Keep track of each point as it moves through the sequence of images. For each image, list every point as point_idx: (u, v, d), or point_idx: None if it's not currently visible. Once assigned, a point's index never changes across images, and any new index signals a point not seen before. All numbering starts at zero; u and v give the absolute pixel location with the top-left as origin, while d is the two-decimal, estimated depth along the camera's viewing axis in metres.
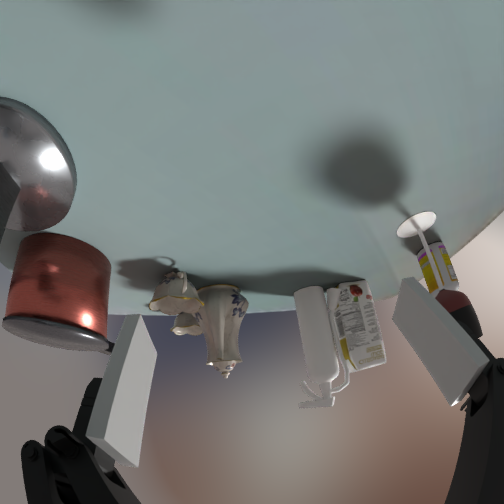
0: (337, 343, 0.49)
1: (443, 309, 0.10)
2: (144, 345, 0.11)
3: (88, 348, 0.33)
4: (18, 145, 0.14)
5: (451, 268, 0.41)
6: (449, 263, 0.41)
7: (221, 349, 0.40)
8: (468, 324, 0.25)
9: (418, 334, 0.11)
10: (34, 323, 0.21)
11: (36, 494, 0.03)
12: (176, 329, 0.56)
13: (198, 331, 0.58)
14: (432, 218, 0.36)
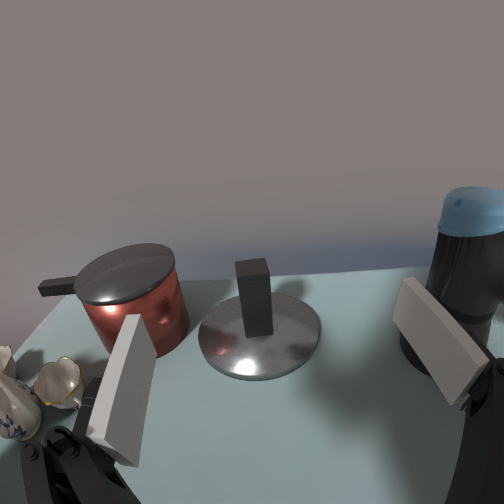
0: None
1: (443, 309, 0.10)
2: (144, 345, 0.11)
3: (85, 280, 0.34)
4: (282, 350, 0.35)
5: None
6: None
7: None
8: None
9: (418, 334, 0.11)
10: (164, 274, 0.35)
11: (36, 494, 0.03)
12: (3, 350, 0.29)
13: None
14: None
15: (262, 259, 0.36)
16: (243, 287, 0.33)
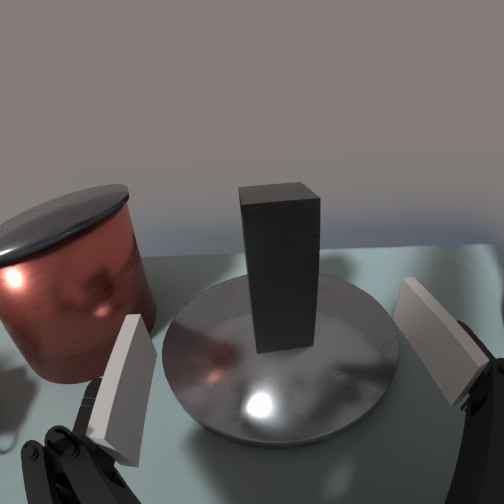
0: None
1: (442, 309, 0.10)
2: (144, 345, 0.11)
3: None
4: (336, 379, 0.15)
5: None
6: None
7: None
8: None
9: (418, 334, 0.11)
10: (94, 212, 0.15)
11: (36, 494, 0.03)
12: None
13: None
14: None
15: (296, 183, 0.17)
16: (257, 232, 0.14)
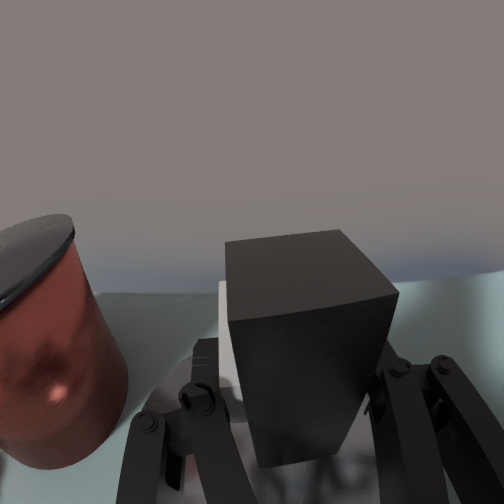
0: None
1: None
2: None
3: None
4: (366, 501, 0.07)
5: None
6: None
7: None
8: None
9: None
10: (7, 286, 0.08)
11: (137, 471, 0.05)
12: None
13: None
14: None
15: (333, 233, 0.09)
16: (264, 364, 0.06)
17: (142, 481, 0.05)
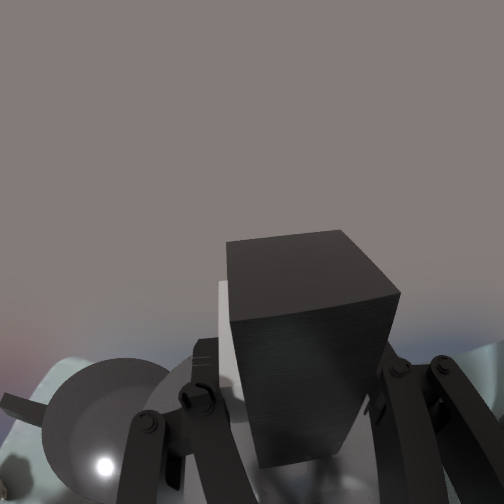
0: None
1: None
2: None
3: (56, 434, 0.15)
4: (367, 501, 0.07)
5: None
6: None
7: None
8: None
9: None
10: None
11: (138, 471, 0.05)
12: None
13: None
14: None
15: (334, 233, 0.09)
16: (266, 364, 0.06)
17: (142, 481, 0.05)
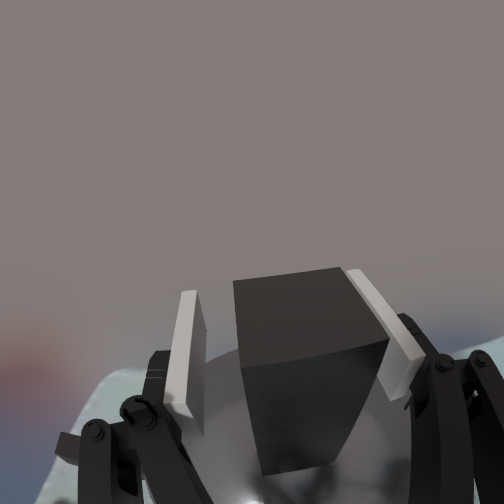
0: None
1: (383, 300, 0.11)
2: (200, 319, 0.13)
3: None
4: None
5: None
6: None
7: None
8: None
9: None
10: None
11: (91, 477, 0.04)
12: None
13: None
14: None
15: (334, 271, 0.10)
16: (270, 397, 0.07)
17: (97, 487, 0.04)
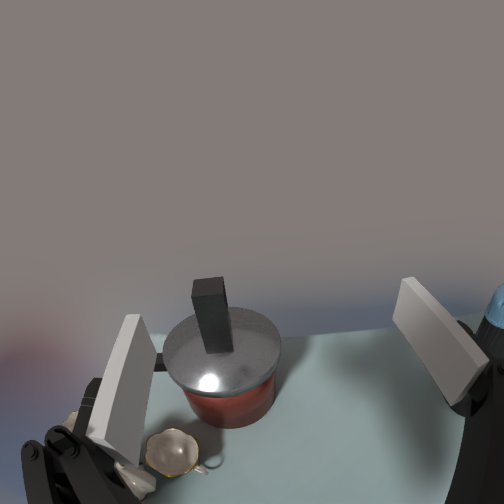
0: None
1: (443, 309, 0.10)
2: (144, 345, 0.11)
3: None
4: (240, 368, 0.34)
5: None
6: None
7: (125, 469, 0.21)
8: None
9: (418, 334, 0.11)
10: None
11: (36, 494, 0.03)
12: None
13: None
14: None
15: (220, 277, 0.36)
16: (198, 306, 0.33)
17: (42, 502, 0.03)
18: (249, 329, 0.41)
